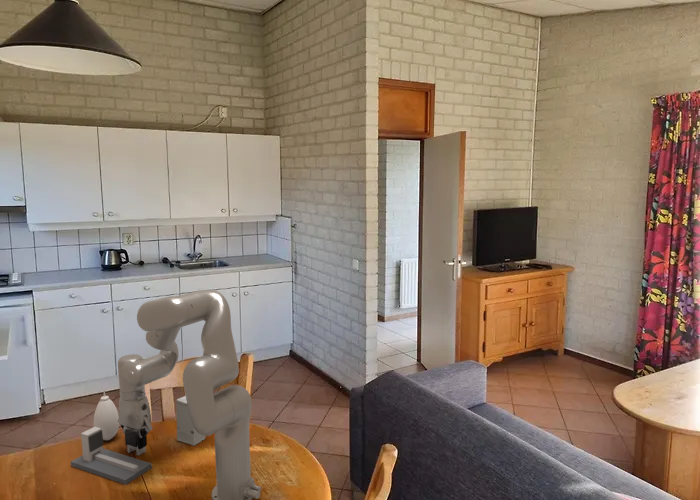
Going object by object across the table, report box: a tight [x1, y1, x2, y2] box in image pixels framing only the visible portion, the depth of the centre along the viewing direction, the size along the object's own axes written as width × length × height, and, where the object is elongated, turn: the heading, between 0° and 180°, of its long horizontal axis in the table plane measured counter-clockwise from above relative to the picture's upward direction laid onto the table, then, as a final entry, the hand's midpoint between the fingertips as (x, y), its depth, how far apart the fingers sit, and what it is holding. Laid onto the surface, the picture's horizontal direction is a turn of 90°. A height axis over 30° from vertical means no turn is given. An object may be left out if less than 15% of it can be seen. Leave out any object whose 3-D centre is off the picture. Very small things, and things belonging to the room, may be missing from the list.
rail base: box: [70, 426, 153, 486], centre depth 164 cm, size 24×10×10 cm, turn 64°
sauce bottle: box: [93, 389, 120, 441], centre depth 181 cm, size 8×8×18 cm
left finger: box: [124, 427, 147, 456], centre depth 173 cm, size 4×5×9 cm
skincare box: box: [176, 395, 206, 446], centre depth 180 cm, size 8×6×15 cm
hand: (136, 444), depth 173 cm, fingers open, 5 cm apart
